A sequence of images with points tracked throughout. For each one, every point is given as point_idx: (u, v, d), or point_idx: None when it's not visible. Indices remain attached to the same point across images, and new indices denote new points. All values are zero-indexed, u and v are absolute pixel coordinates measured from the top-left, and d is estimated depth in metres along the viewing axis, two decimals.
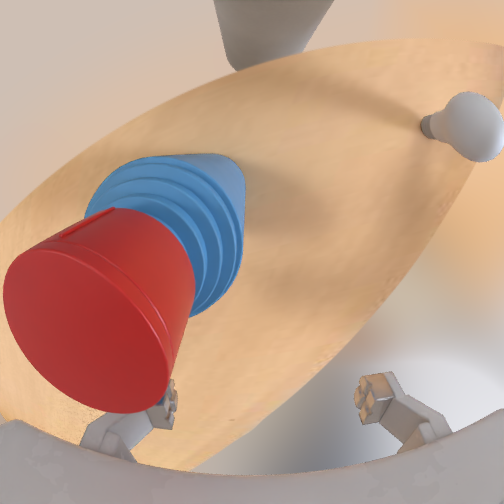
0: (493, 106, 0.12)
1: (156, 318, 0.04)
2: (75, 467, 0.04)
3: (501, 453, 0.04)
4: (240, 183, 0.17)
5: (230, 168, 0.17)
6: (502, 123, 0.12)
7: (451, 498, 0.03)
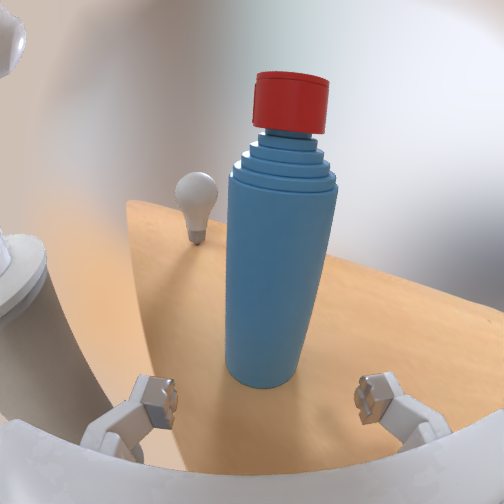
0: None
1: None
2: (75, 467, 0.04)
3: (502, 453, 0.04)
4: None
5: None
6: None
7: (451, 498, 0.03)
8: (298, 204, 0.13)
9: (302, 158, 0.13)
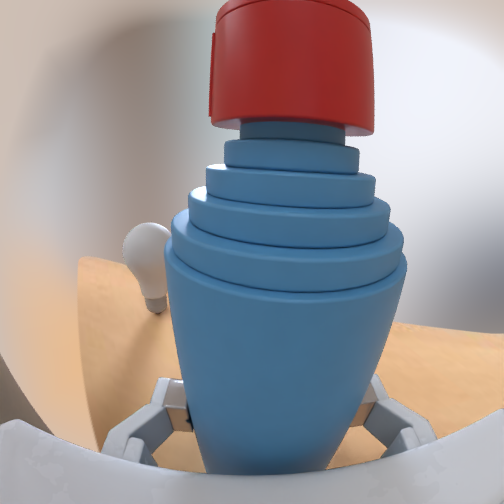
0: None
1: None
2: (75, 467, 0.04)
3: (502, 453, 0.04)
4: None
5: None
6: None
7: (452, 498, 0.03)
8: (350, 322, 0.05)
9: (346, 192, 0.05)
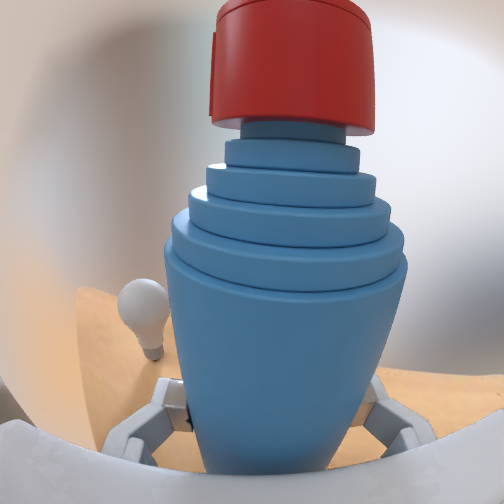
0: (125, 286, 0.28)
1: None
2: (75, 467, 0.04)
3: (502, 453, 0.04)
4: None
5: None
6: (136, 280, 0.28)
7: (452, 498, 0.03)
8: (350, 322, 0.05)
9: (347, 192, 0.05)
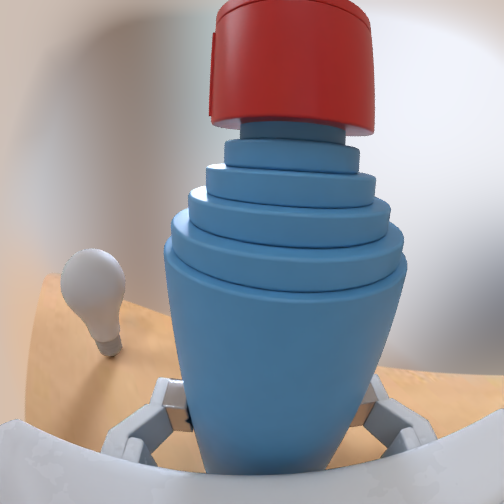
0: (70, 258, 0.20)
1: None
2: (75, 467, 0.04)
3: (502, 453, 0.04)
4: None
5: None
6: None
7: (452, 498, 0.03)
8: (350, 322, 0.05)
9: (347, 192, 0.05)
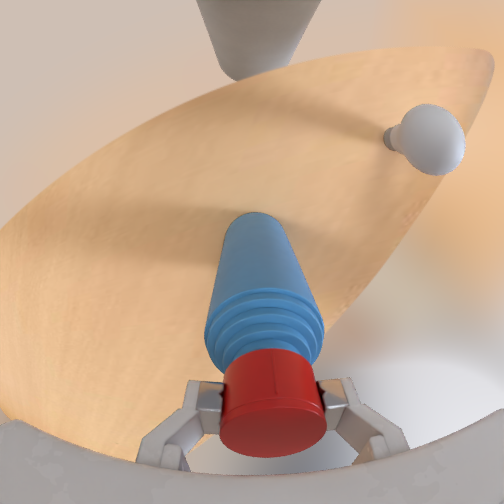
0: (450, 118, 0.15)
1: (324, 417, 0.08)
2: (75, 467, 0.04)
3: (502, 453, 0.04)
4: None
5: (290, 248, 0.21)
6: (459, 135, 0.15)
7: (452, 498, 0.03)
8: None
9: None
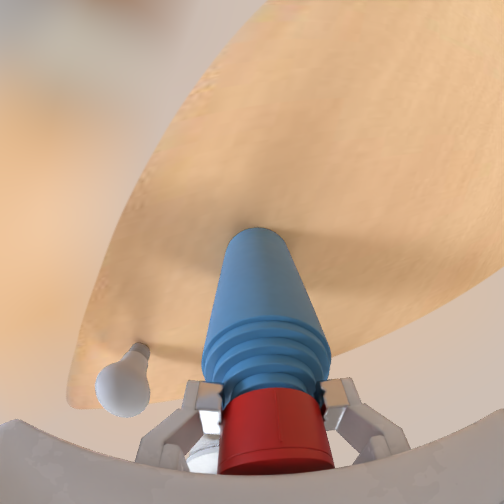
0: (120, 416, 0.22)
1: None
2: (75, 467, 0.04)
3: (502, 453, 0.04)
4: None
5: None
6: (109, 411, 0.21)
7: (451, 498, 0.03)
8: None
9: None
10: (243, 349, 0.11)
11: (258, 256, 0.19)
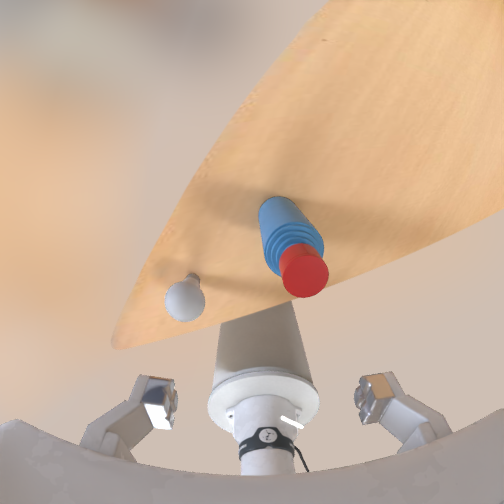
0: (182, 320, 0.38)
1: None
2: (75, 467, 0.04)
3: (502, 453, 0.04)
4: None
5: None
6: (176, 314, 0.37)
7: (451, 498, 0.03)
8: None
9: None
10: (286, 233, 0.27)
11: (284, 206, 0.35)
